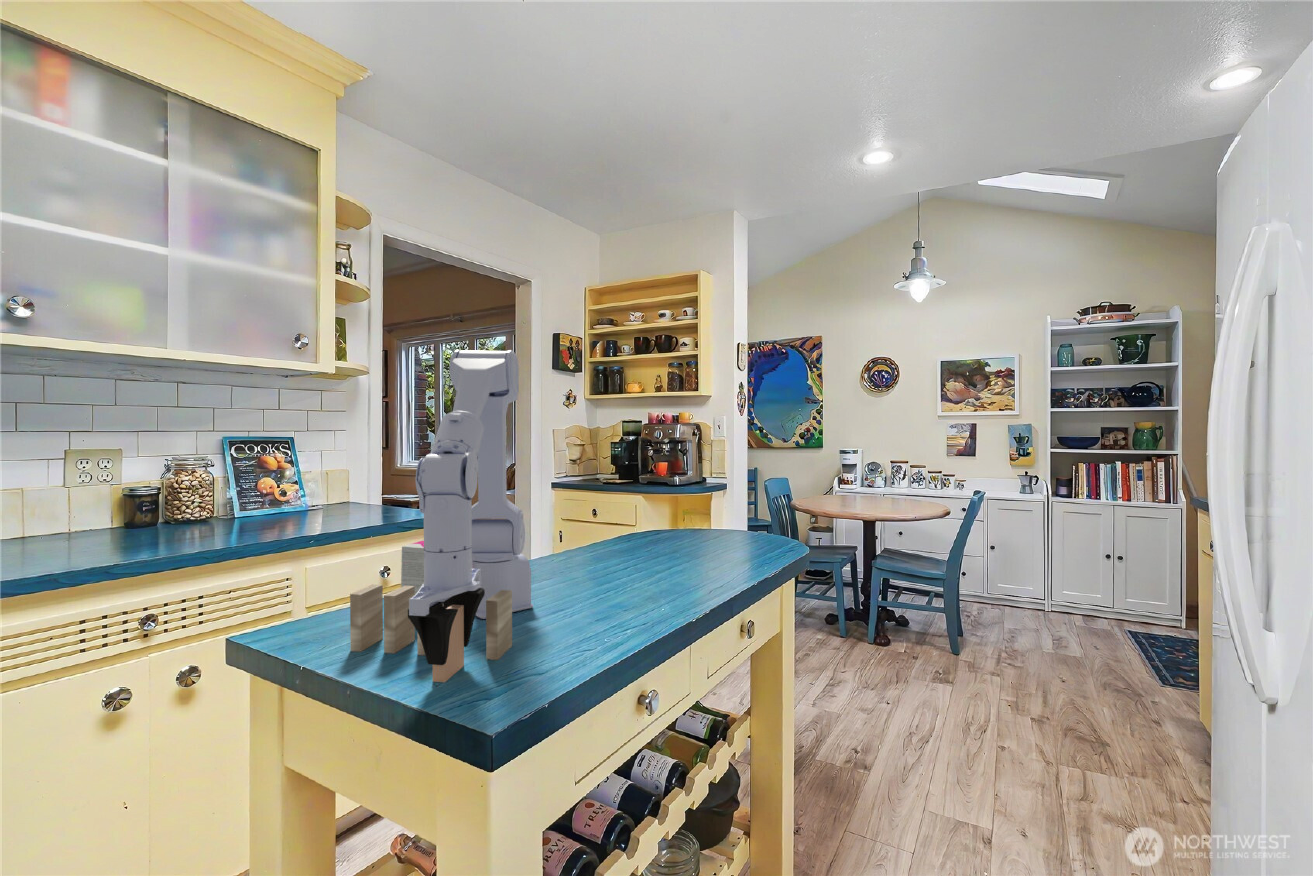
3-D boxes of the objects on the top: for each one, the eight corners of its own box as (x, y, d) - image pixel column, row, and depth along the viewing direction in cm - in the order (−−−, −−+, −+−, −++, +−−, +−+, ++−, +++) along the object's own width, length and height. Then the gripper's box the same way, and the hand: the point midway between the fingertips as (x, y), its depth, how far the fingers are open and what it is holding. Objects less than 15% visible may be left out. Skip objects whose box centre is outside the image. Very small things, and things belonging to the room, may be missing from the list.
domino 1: (382, 638, 86) (382, 584, 86) (361, 651, 81) (360, 594, 81) (372, 638, 86) (372, 584, 86) (350, 651, 81) (350, 594, 81)
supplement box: (431, 617, 95) (431, 548, 95) (399, 615, 96) (399, 546, 96) (450, 607, 101) (450, 541, 101) (420, 604, 102) (419, 539, 102)
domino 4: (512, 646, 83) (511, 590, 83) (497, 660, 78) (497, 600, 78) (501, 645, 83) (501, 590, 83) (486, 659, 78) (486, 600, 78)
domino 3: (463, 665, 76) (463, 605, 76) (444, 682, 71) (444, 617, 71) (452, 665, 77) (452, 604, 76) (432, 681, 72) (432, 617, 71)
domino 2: (414, 640, 85) (414, 586, 85) (394, 653, 80) (394, 596, 80) (404, 639, 86) (404, 585, 85) (384, 652, 81) (383, 595, 80)
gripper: (449, 562, 66) (450, 681, 66) (501, 537, 80) (501, 635, 80) (391, 560, 67) (392, 677, 67) (453, 536, 81) (453, 632, 81)
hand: (448, 654), depth 74 cm, fingers open, 5 cm apart
